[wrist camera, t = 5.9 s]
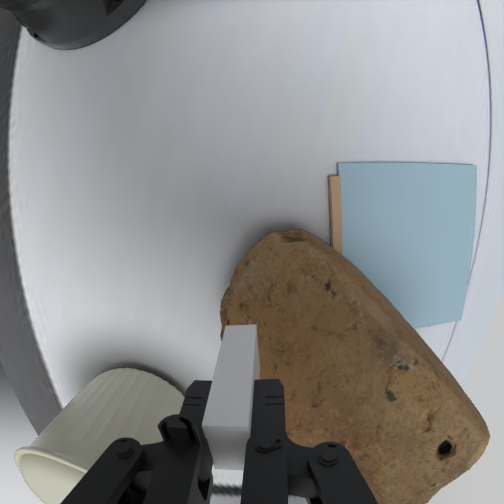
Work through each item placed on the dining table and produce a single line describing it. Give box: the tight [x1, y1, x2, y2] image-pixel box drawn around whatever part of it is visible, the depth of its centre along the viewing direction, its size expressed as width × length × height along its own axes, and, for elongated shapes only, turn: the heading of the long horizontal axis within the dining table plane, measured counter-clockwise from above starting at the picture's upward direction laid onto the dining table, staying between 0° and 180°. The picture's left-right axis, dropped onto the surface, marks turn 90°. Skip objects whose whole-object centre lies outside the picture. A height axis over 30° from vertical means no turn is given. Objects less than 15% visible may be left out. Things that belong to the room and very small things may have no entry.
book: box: [328, 162, 477, 328], centre depth 26 cm, size 16×15×1 cm
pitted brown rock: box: [220, 229, 490, 504], centre depth 18 cm, size 11×8×20 cm
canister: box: [14, 368, 185, 504], centre depth 23 cm, size 18×18×21 cm
